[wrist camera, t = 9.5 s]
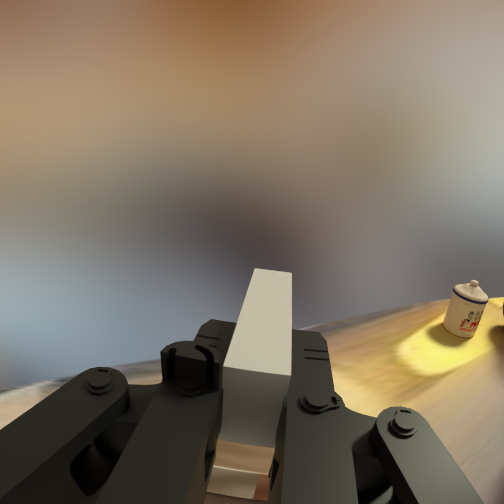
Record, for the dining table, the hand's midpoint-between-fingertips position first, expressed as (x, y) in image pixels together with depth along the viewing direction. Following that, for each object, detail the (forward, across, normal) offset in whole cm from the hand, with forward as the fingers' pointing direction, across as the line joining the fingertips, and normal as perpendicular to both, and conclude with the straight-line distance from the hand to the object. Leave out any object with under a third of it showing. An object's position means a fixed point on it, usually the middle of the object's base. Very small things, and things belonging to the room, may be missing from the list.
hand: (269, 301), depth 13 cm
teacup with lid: (+44, +45, -23) cm, 67 cm away
